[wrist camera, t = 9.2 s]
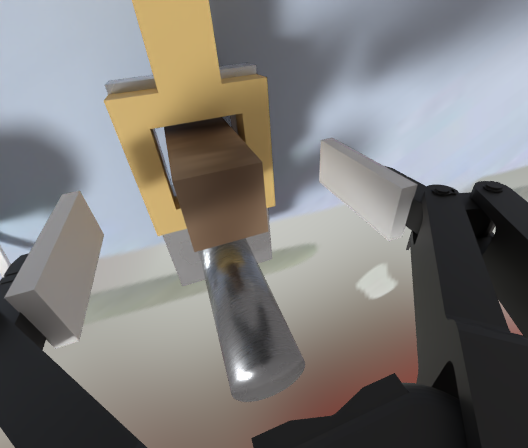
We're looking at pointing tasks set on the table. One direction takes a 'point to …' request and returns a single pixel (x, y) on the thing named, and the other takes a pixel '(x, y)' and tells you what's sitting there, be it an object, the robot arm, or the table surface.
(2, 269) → the cup
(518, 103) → the table surface
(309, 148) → the table surface
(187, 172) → the pin
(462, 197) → the robot arm
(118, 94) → the bracket
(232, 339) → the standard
